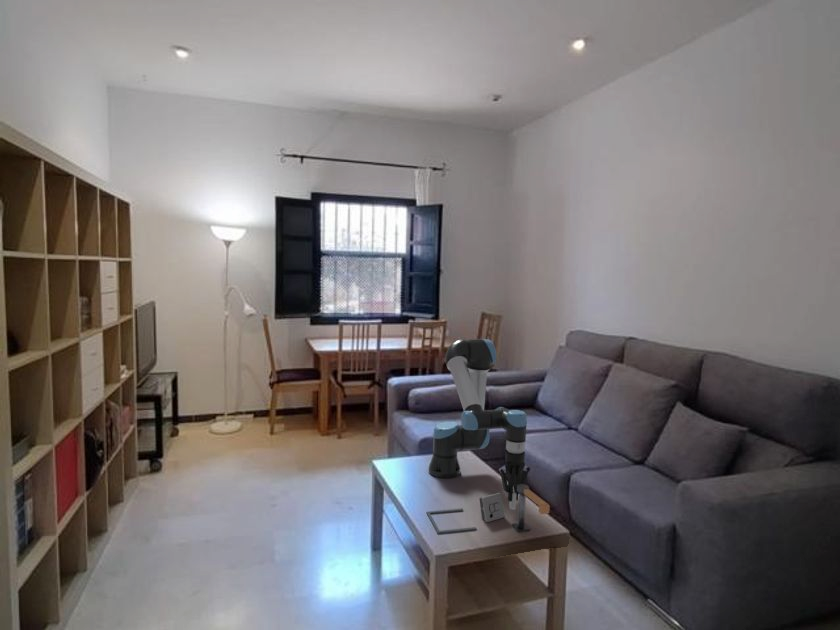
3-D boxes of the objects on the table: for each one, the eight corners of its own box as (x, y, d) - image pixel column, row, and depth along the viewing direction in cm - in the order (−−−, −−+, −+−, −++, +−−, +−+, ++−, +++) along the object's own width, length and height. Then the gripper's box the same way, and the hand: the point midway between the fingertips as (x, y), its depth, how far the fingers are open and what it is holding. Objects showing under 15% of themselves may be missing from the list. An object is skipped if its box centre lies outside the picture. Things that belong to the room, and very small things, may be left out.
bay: (426, 513, 197) (426, 511, 197) (462, 509, 200) (462, 508, 200) (437, 533, 181) (437, 532, 181) (476, 530, 185) (476, 528, 185)
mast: (511, 525, 189) (513, 489, 188) (524, 524, 190) (525, 488, 189) (517, 532, 184) (519, 495, 183) (530, 531, 185) (531, 494, 184)
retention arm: (514, 493, 187) (514, 484, 187) (524, 492, 189) (524, 483, 189) (539, 514, 171) (540, 504, 171) (550, 512, 173) (551, 503, 173)
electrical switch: (486, 523, 190) (485, 499, 190) (477, 518, 195) (477, 494, 195) (505, 517, 195) (504, 494, 195) (496, 513, 199) (496, 490, 199)
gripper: (503, 454, 190) (501, 514, 192) (534, 452, 193) (531, 511, 195) (496, 448, 197) (493, 505, 199) (526, 446, 200) (523, 502, 202)
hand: (512, 508), depth 197 cm, fingers closed
